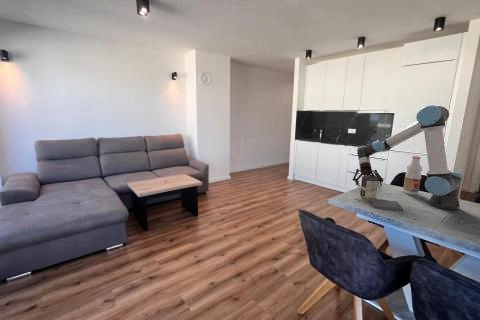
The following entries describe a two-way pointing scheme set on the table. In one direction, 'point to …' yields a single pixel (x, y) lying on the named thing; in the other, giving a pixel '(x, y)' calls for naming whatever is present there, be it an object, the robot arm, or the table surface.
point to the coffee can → (368, 187)
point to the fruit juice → (413, 177)
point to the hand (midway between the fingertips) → (369, 189)
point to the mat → (385, 204)
